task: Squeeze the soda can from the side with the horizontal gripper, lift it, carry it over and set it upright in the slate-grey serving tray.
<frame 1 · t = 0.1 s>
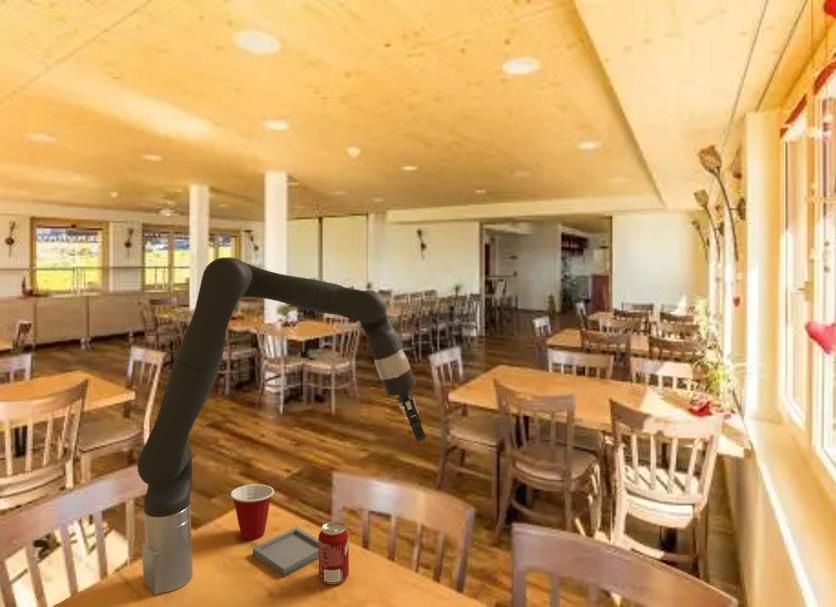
hand: (418, 433, 123), 31 cm above the table, tool tilted 20°, fingers open, 8 cm apart
soda can: (333, 578, 118), on the table
plastic cup: (253, 535, 136), on the table
serving tray: (291, 554, 127), on the table
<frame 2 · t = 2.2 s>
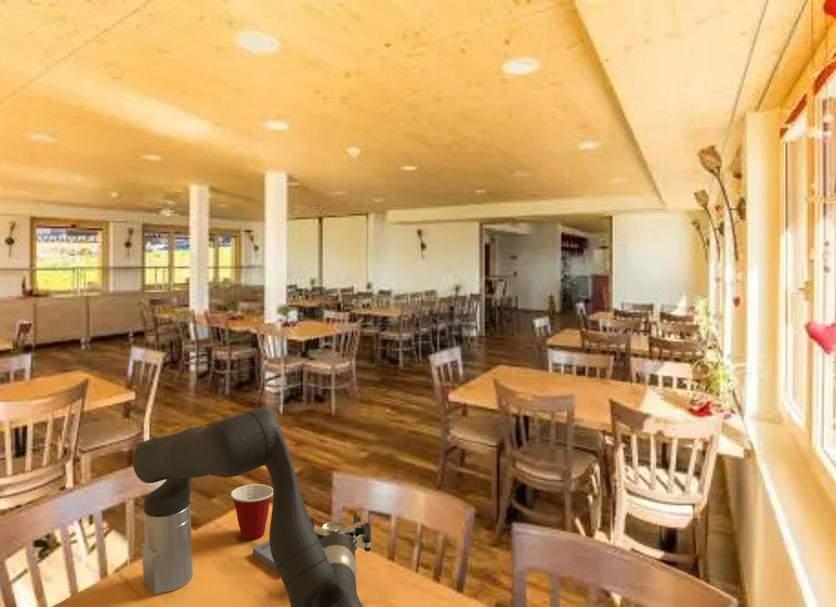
hand: (333, 520, 106), 19 cm above the table, tool horizontal, fingers open, 8 cm apart
nothing on the table moved.
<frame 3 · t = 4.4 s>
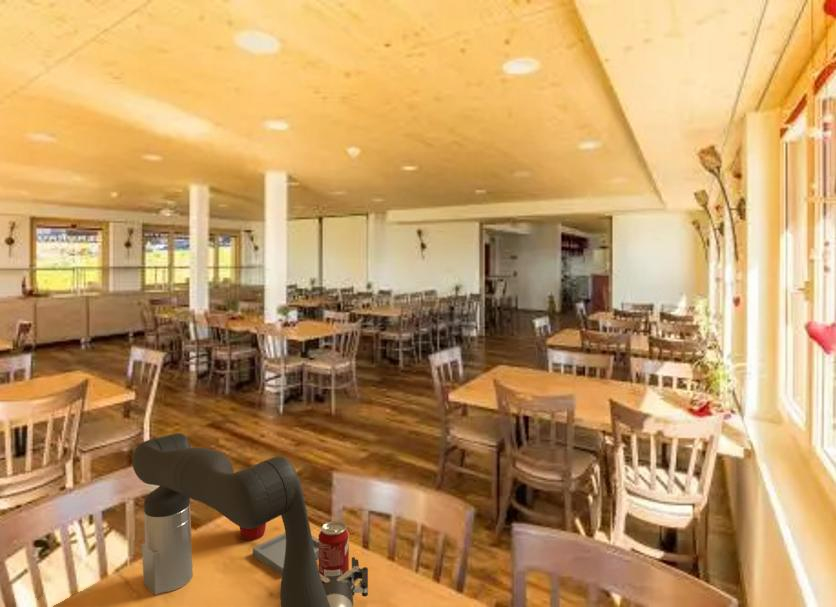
hand: (333, 562, 112), 7 cm above the table, tool horizontal, fingers open, 8 cm apart
nothing on the table moved.
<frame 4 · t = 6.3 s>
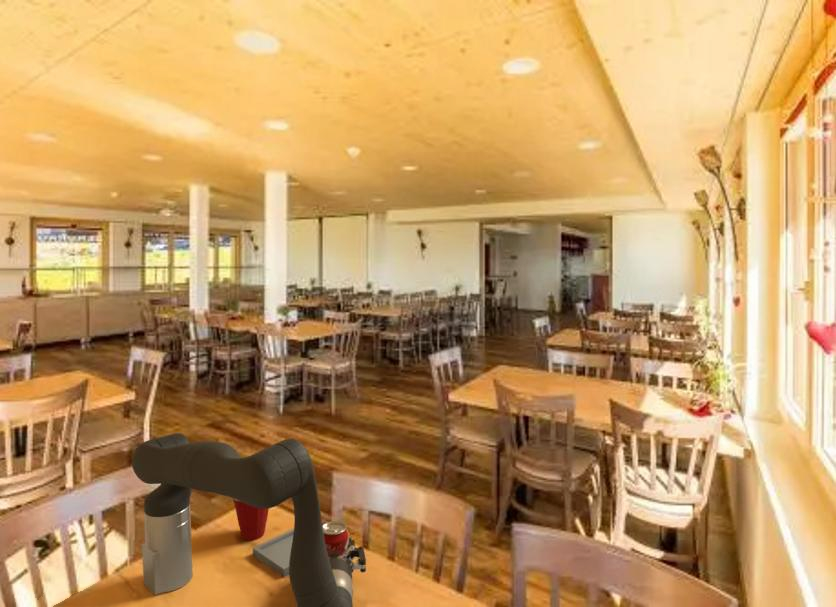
hand: (333, 542, 119), 7 cm above the table, tool horizontal, fingers closed on soda can, 7 cm apart
soda can: (333, 578, 118), on the table, touching gripper
everything else where it was.
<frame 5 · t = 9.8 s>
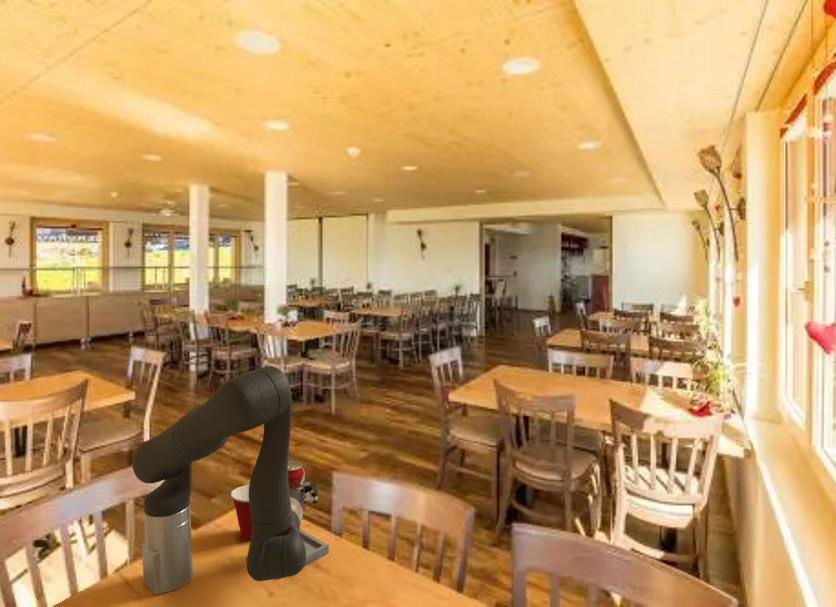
hand: (290, 481, 127), 18 cm above the table, tool horizontal, fingers closed on soda can, 6 cm apart
soda can: (290, 513, 126), point 10 cm above the table, touching gripper
everything else where it was.
when the fingers open (9 cm above the table, at t = 12.8 s): soda can drops 1 cm, resting on serving tray.
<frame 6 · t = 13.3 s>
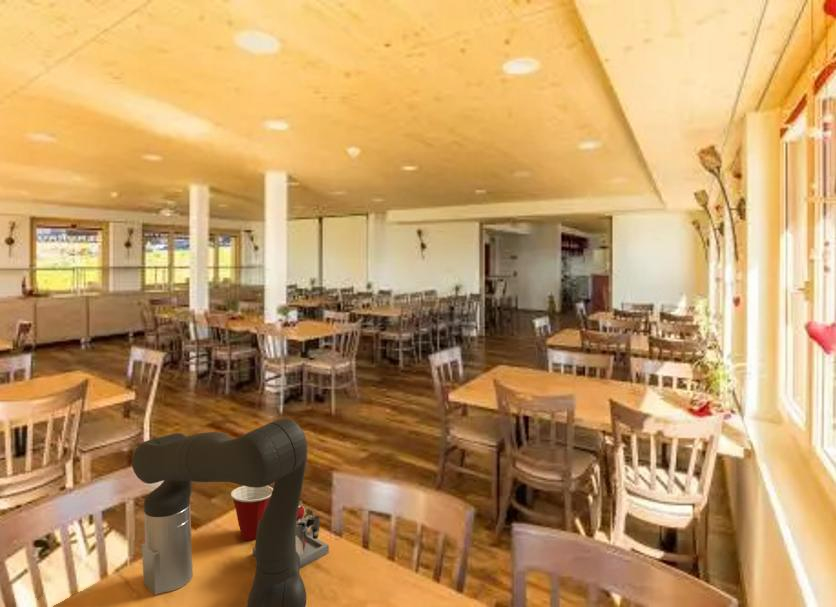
hand: (291, 513, 128), 10 cm above the table, tool horizontal, fingers open, 8 cm apart
soda can: (291, 551, 126), point 1 cm above the table, touching serving tray
everything else where it was.
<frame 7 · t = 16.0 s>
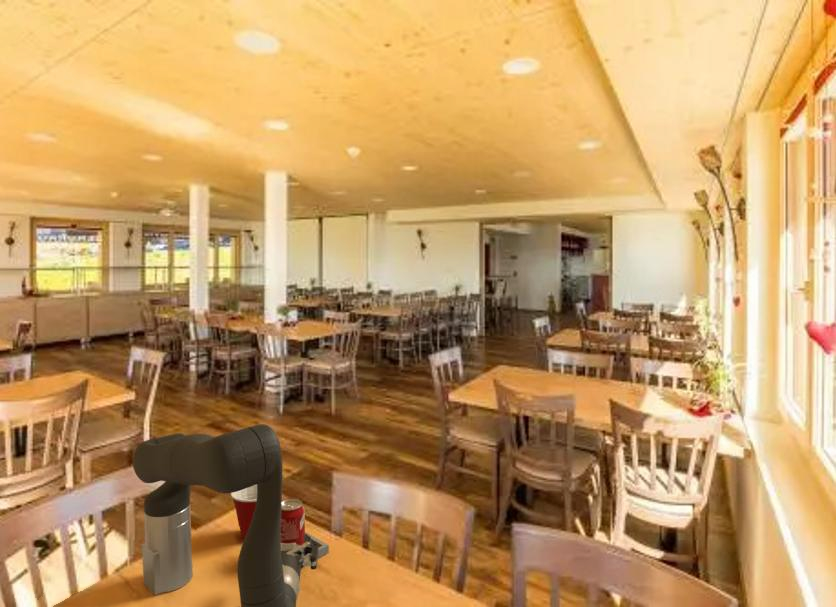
hand: (286, 539, 116), 10 cm above the table, tool horizontal, fingers open, 8 cm apart
nothing on the table moved.
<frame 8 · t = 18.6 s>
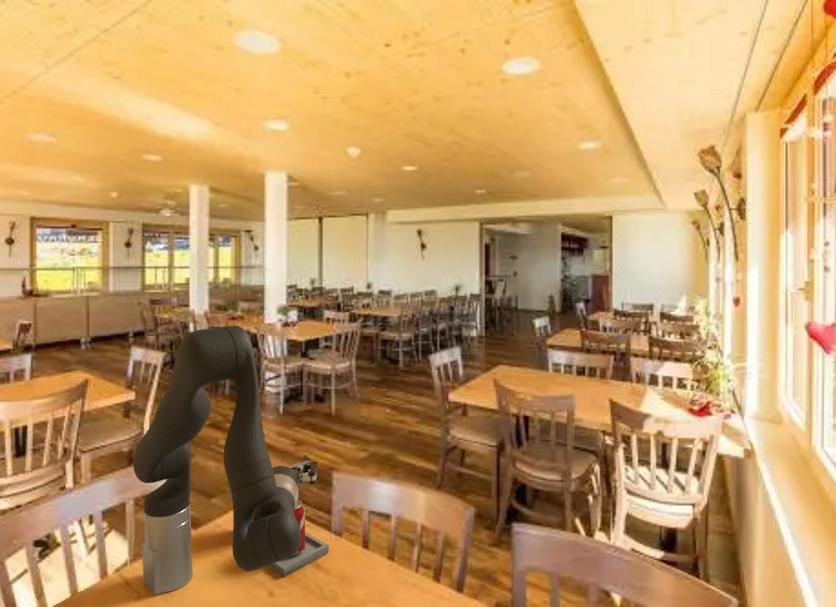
hand: (285, 460, 114), 28 cm above the table, tool horizontal, fingers open, 8 cm apart
nothing on the table moved.
at the end: soda can 0.2 cm off-centre on the serving tray, point 0.8 cm above the serving tray's base; soda can tilted 0°; the gripper is holding nothing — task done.
